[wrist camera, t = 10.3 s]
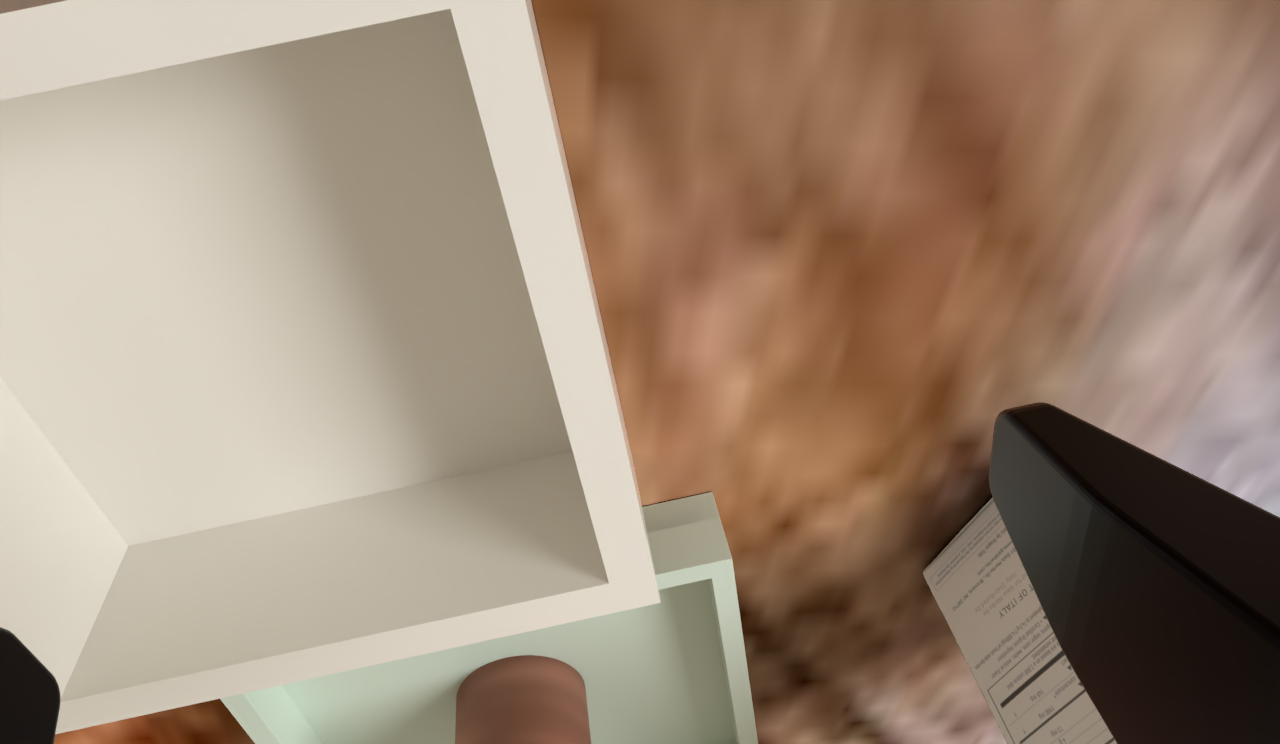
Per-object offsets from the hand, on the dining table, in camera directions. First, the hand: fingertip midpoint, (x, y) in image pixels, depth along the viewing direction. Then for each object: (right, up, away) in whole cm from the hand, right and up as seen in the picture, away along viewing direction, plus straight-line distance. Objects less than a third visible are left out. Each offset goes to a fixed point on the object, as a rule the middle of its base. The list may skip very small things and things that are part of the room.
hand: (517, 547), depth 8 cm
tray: (-3, -8, +20) cm, 22 cm away
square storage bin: (-7, +3, +11) cm, 14 cm away
